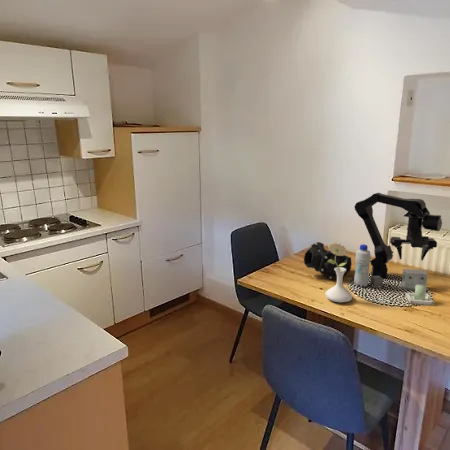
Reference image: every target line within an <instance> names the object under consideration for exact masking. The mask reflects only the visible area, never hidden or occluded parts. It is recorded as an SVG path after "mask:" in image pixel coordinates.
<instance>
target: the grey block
mask: <svg viewBox="0 0 450 450" xmlns="http://www.w3.org/2000/svg"><path fill="white" fill-rule="evenodd" d="M369 281H370V283H369V284H370V285H371V284H372V285H373V286H374V287H373V286H372V285H371V286H372V287H373V288H380V287H379V286H382V287H383V284H384V278H381V277H380V276H372V275H370V280H369Z"/></svg>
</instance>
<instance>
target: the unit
mask: <svg viewBox="0 0 450 450" xmlns="http://www.w3.org/2000/svg"><path fill="white" fill-rule="evenodd" d="M427 280H428V273H427V272H426V270H425V269H413V268H412V269H411V268H410V269H409V268H408V269H407V268H402V277H401V289H402V290H404V289H408V290H409V291H415V286H416V285H424V286H426V287H427ZM402 286H403V287H402ZM427 291H428V288H426V292H427Z"/></svg>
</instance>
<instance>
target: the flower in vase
mask: <svg viewBox="0 0 450 450" xmlns="http://www.w3.org/2000/svg"><path fill="white" fill-rule="evenodd" d="M327 248H328V251H331V253H333V254H336V255H338V256H343V255H345V256H346V255H347V253H348V251H347V249H346V248H347V247H345V245H342V244H341V243H340V242H339V243H338V242H334V241H333V242H332V243H331V242H330V243H329V244H328V247H327ZM336 255H335V261H333V260H332V259H330V260H328V261H327V262H330V263H332V264H335V263H336ZM346 263H347V262H346ZM346 263H341V264H340V265H339V266H343V265H345V264H346ZM336 265H337V263H336ZM334 270H335V271H336V274H337V277H336V284H335V285H334V286H332V287H331V288H329V289H327V290H326V291H325V294H324V296H325V297H326V298H327V299H328V300H330V301H332V302H335V303H347V302H350V301H352V299H353V294H352V293H351V291H350V290H348V289H347V288H346V287H344V284H343V280H344V279H343V278H344V275H345V274H344V273H345V271H346V269H345V268H342V267H338V265H337V267H336V268H334Z"/></svg>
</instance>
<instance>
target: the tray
mask: <svg viewBox="0 0 450 450" xmlns="http://www.w3.org/2000/svg"><path fill="white" fill-rule="evenodd" d="M414 295H415V292H405V298H406V297H407V298H406V299H407V301H408V303H409V305H418V306H419V305H420V306H433V307H434V306H435V305H434V303H435V301H434V300H433V299H432V297H431V296H430V295H429V293H425V300H424V301H422V300H414Z"/></svg>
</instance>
